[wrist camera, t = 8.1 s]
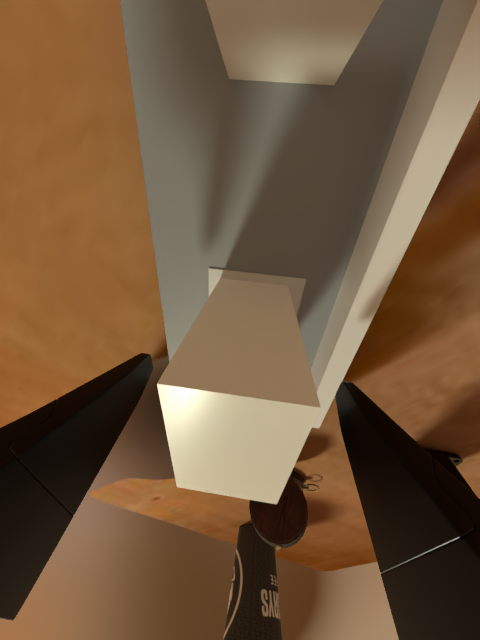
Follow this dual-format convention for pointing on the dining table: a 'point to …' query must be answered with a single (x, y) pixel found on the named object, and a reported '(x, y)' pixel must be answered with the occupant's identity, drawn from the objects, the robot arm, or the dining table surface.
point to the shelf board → (297, 164)
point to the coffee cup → (253, 590)
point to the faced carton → (289, 37)
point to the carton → (239, 394)
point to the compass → (282, 515)
